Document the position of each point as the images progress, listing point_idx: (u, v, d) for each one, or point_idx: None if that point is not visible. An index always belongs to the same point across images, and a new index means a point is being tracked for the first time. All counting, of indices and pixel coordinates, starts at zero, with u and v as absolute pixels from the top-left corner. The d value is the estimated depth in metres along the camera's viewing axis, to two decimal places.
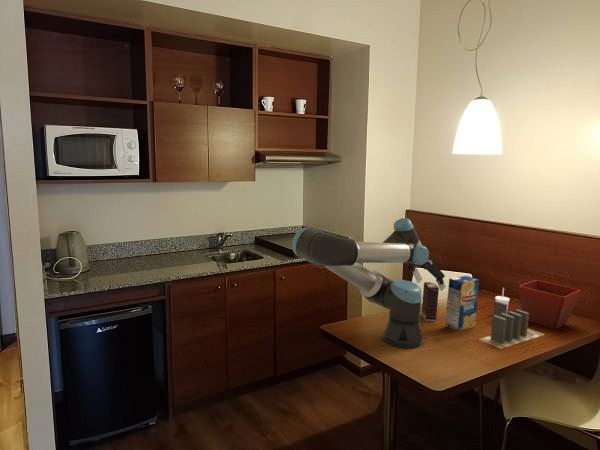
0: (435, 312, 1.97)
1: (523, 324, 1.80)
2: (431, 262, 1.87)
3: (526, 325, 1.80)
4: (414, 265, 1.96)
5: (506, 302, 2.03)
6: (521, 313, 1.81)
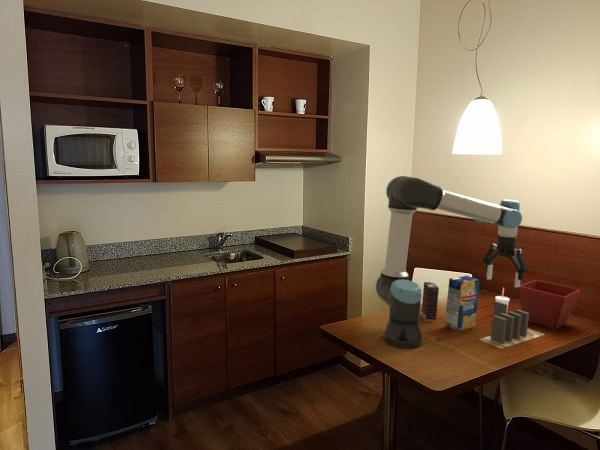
0: (435, 312, 1.97)
1: (523, 324, 1.80)
2: (521, 251, 1.86)
3: (526, 325, 1.80)
4: (497, 254, 1.93)
5: (506, 302, 2.03)
6: (521, 313, 1.81)
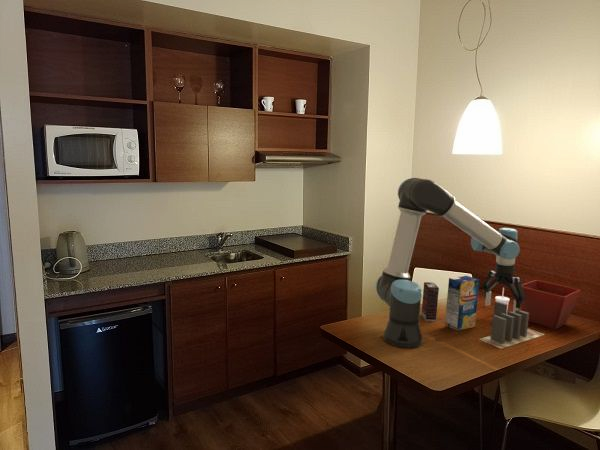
0: (435, 312, 1.97)
1: (523, 324, 1.80)
2: (519, 280, 1.88)
3: (526, 325, 1.80)
4: (495, 281, 1.95)
5: (506, 302, 2.03)
6: (521, 313, 1.81)
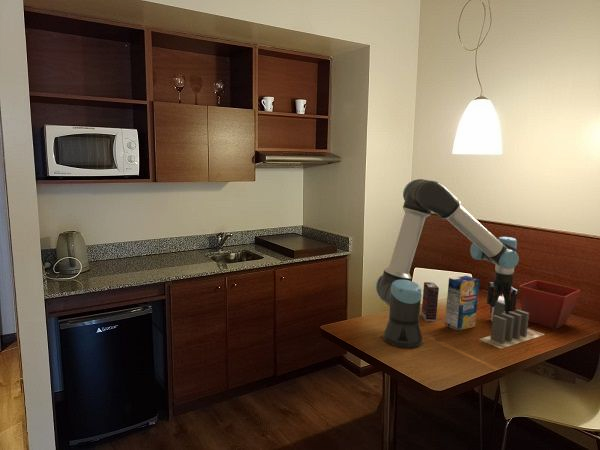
0: (435, 312, 1.97)
1: (523, 324, 1.80)
2: (516, 292, 1.89)
3: (526, 325, 1.80)
4: (496, 291, 1.95)
5: None
6: (521, 313, 1.81)
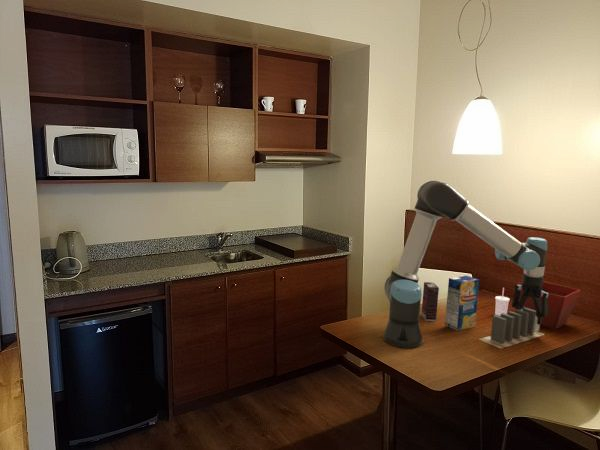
0: (435, 312, 1.97)
1: (523, 324, 1.80)
2: (547, 295, 1.77)
3: (526, 325, 1.80)
4: (524, 295, 1.84)
5: (506, 302, 2.03)
6: (521, 313, 1.81)
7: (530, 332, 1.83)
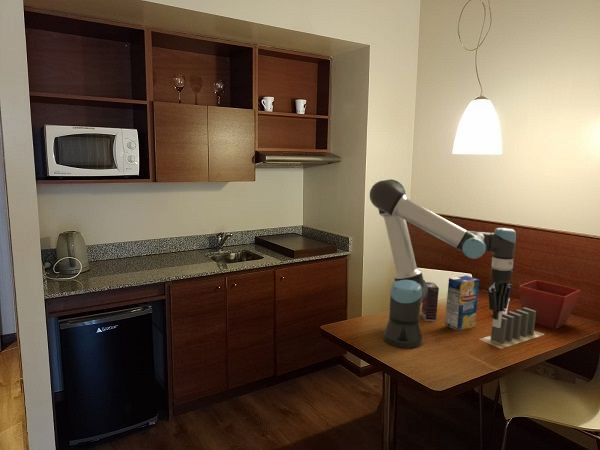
0: (435, 312, 1.97)
1: (523, 324, 1.80)
2: (490, 291, 1.67)
3: (526, 325, 1.80)
4: None
5: None
6: (521, 313, 1.81)
7: (530, 332, 1.83)
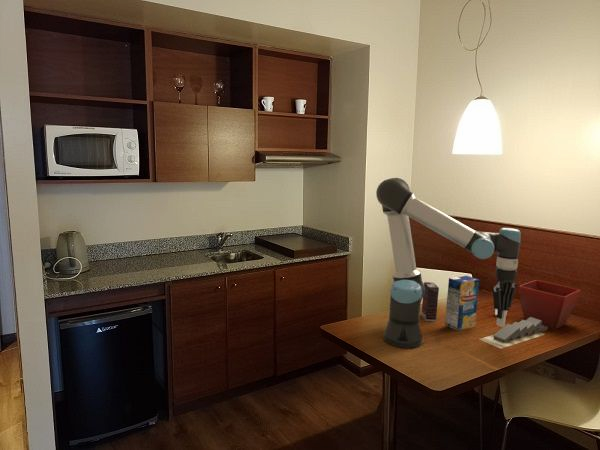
0: (435, 312, 1.97)
1: None
2: (495, 290, 1.69)
3: (534, 327, 1.84)
4: None
5: None
6: (535, 319, 1.87)
7: None
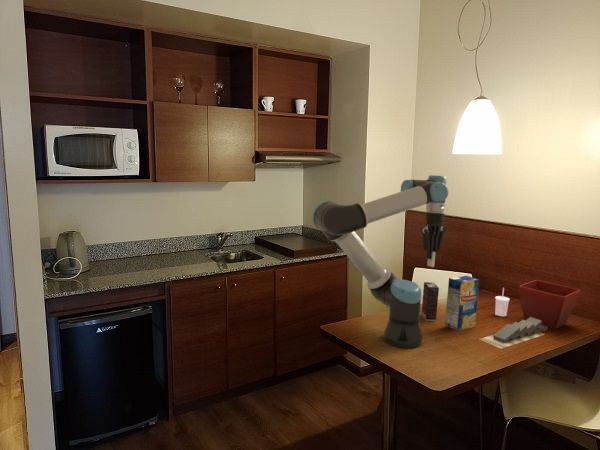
0: (435, 312, 1.97)
1: None
2: (424, 232, 1.84)
3: (534, 327, 1.84)
4: None
5: (506, 302, 2.03)
6: (535, 319, 1.87)
7: None
